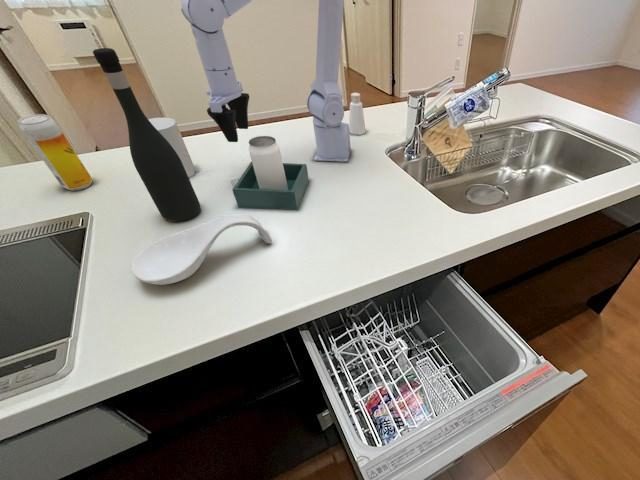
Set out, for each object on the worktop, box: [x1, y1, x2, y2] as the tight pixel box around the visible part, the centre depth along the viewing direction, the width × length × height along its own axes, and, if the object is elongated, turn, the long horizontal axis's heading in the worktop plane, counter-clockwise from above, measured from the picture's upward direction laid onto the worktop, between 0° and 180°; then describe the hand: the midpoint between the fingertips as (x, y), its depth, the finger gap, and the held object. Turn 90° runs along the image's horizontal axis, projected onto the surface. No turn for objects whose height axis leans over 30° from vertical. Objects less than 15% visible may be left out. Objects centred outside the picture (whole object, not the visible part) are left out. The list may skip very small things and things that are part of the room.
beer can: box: [17, 113, 93, 192], centre depth 77 cm, size 6×6×15 cm
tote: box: [232, 161, 310, 211], centre depth 82 cm, size 14×14×4 cm
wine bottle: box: [92, 47, 201, 222], centre depth 66 cm, size 8×8×30 cm
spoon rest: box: [130, 213, 273, 286], centre depth 64 cm, size 24×12×7 cm, turn 129°
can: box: [248, 135, 288, 190], centre depth 79 cm, size 6×6×12 cm
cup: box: [147, 116, 197, 179], centre depth 84 cm, size 8×8×12 cm
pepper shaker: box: [348, 92, 367, 136], centre depth 107 cm, size 5×5×11 cm
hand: (238, 134), depth 82 cm, fingers open, 7 cm apart
